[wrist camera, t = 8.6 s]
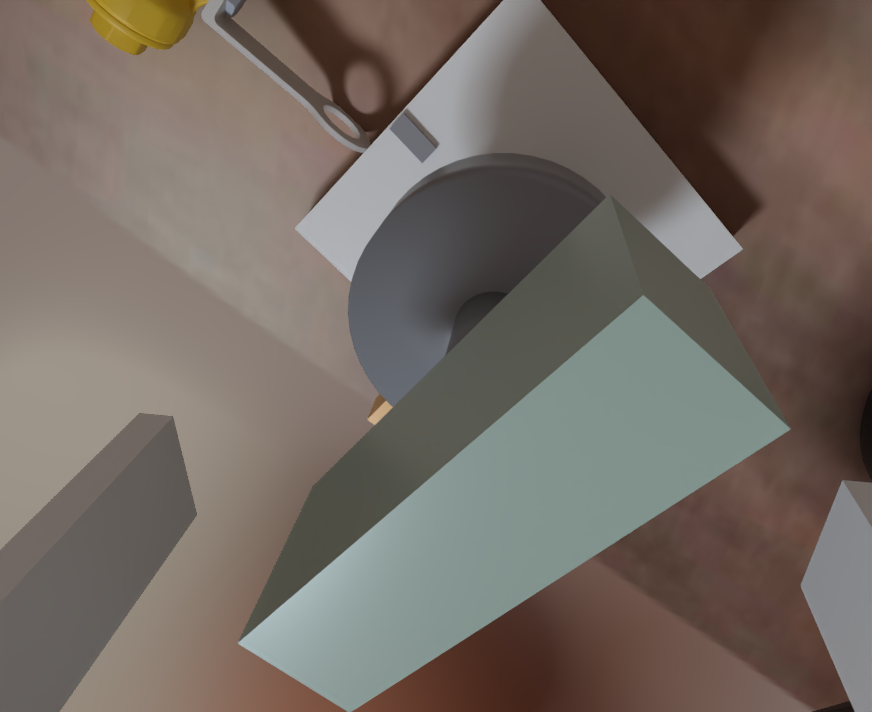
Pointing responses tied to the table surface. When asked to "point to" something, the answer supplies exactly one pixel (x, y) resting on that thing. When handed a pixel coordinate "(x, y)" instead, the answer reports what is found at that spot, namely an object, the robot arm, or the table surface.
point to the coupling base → (520, 141)
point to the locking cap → (501, 419)
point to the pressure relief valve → (173, 16)
